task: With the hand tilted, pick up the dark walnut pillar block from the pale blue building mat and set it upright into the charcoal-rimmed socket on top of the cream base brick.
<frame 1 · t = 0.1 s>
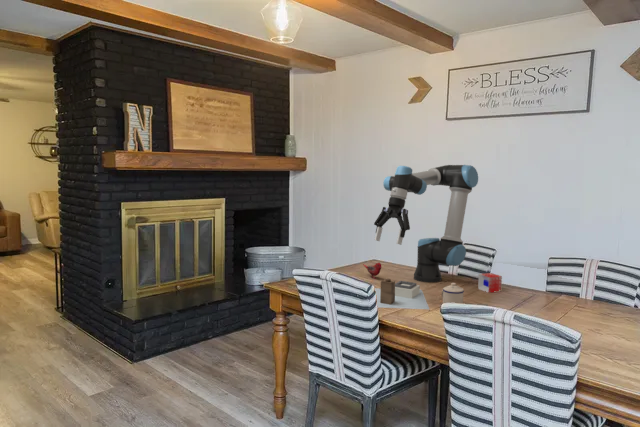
hand: (387, 242, 218), 28 cm above the table, tool tilted 20°, fingers open, 13 cm apart
building mat: (399, 299, 222), on the table
walnut pillar: (387, 302, 215), point 1 cm above the table, touching building mat
decorative bird figurine: (371, 278, 264), on the table
puzzle cube: (489, 290, 240), on the table
base brick: (404, 295, 229), resting on building mat
teacup with lid: (450, 308, 210), on the table
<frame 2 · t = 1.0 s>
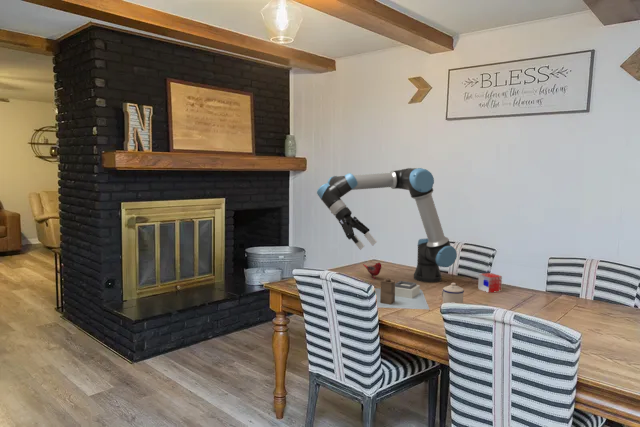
hand: (368, 245, 218), 26 cm above the table, tool tilted 45°, fingers open, 13 cm apart
nothing on the table moved.
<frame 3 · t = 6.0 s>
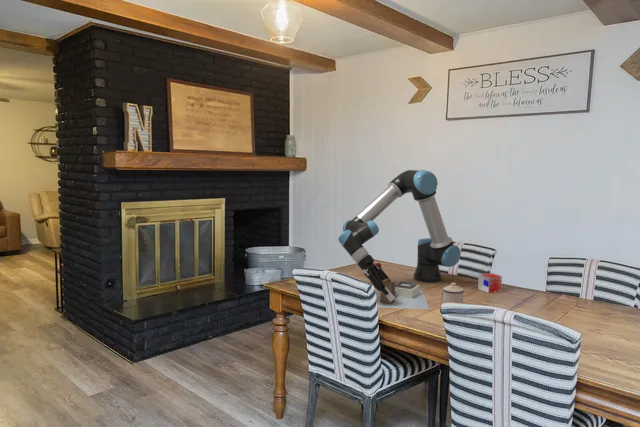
hand: (395, 298, 213), 3 cm above the table, tool tilted 45°, fingers closed on walnut pillar, 5 cm apart
walnut pillar: (387, 302, 215), point 1 cm above the table, touching building mat, gripper
everything else where it was.
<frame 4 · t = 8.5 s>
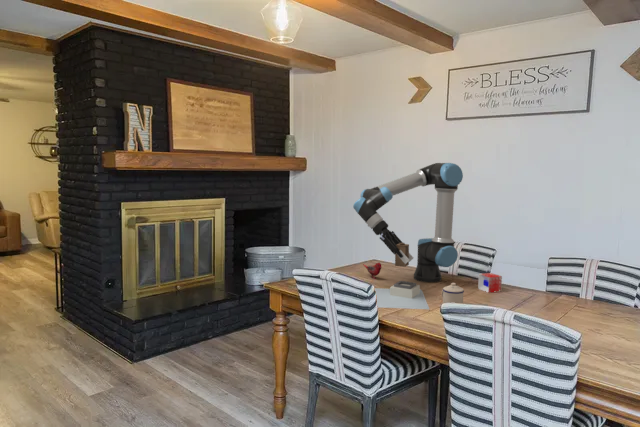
hand: (409, 260, 223), 18 cm above the table, tool tilted 45°, fingers closed on walnut pillar, 5 cm apart
walnut pillar: (401, 265, 225), point 16 cm above the table, touching gripper
everything else where it was.
when the fingers open (9 cm above the table, at t = 11.2 s): walnut pillar drops 2 cm, resting on base brick.
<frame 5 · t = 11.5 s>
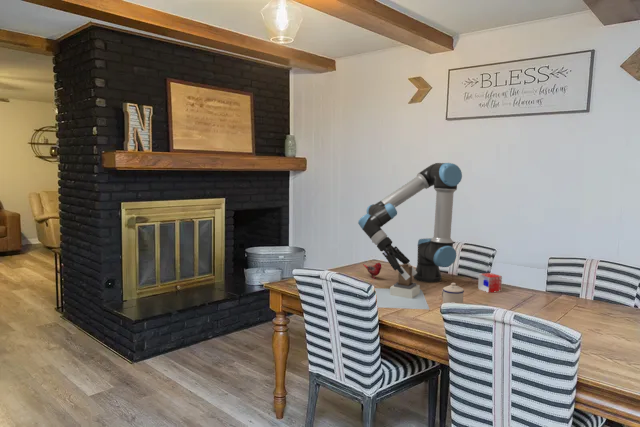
hand: (411, 276, 226), 10 cm above the table, tool tilted 45°, fingers open, 9 cm apart
walnut pillar: (405, 286, 229), point 5 cm above the table, touching base brick
everything else where it was.
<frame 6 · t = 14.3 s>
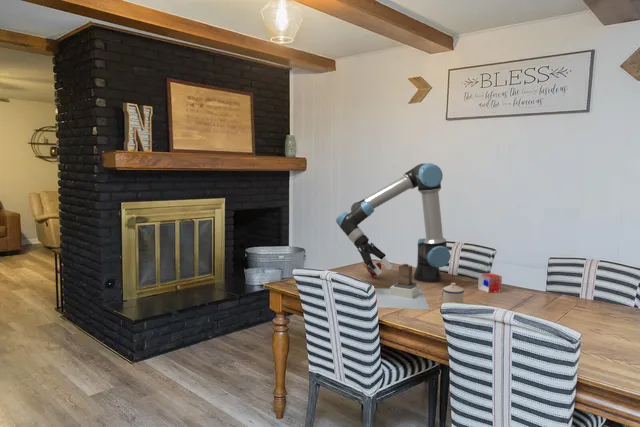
hand: (385, 271, 233), 11 cm above the table, tool tilted 45°, fingers open, 13 cm apart
nothing on the table moved.
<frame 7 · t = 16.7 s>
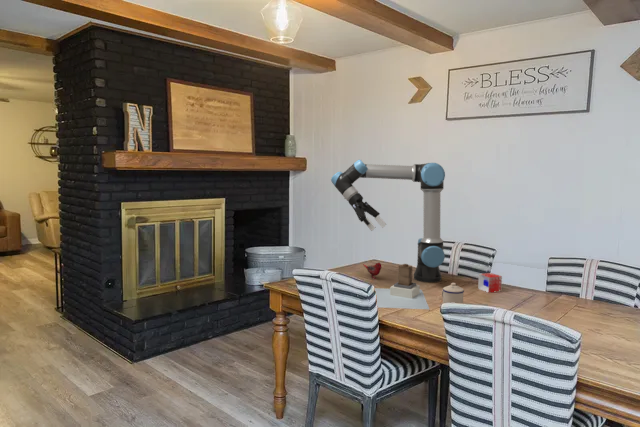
hand: (379, 227, 239), 32 cm above the table, tool tilted 45°, fingers open, 13 cm apart
nothing on the table moved.
at the end: walnut pillar 0.1 cm off-centre on the base brick, point 4.8 cm above the base brick's base; walnut pillar tilted 0°; the gripper is holding nothing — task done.
